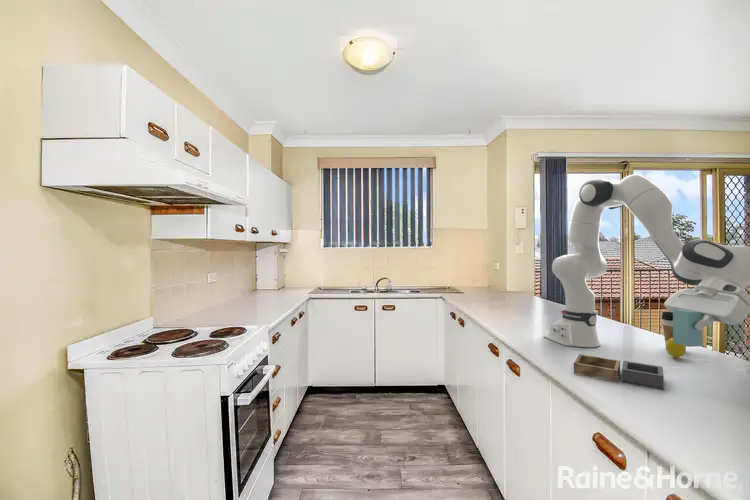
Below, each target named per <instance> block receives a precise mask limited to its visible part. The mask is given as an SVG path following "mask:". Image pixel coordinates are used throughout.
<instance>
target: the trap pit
mask: <svg viewBox="0 0 750 500" xmlns="http://www.w3.org/2000/svg"><path fill="white" fill-rule="evenodd" d="M622 362H623V363H622V366H621V382H622V383H625V384H631V385H635V386H641V387H647V388H650V389H651V388H652V389H657V390H662V391H664V390H665V389H664V388H665V387H664V386H665V385H664V384H665V383H664V382H665V380H664V379H665V378H664V377H665V375H664V368H663V366H661V365H660V366H659V365H655V364H654V365H653V364H646V363H642V362H641V363H640V362H634V361H628V360H623V361H622Z"/></svg>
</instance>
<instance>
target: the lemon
mask: <svg viewBox="0 0 750 500" xmlns="http://www.w3.org/2000/svg"><path fill="white" fill-rule="evenodd" d="M665 350H666V352H667V353H668V354H669V355H670V356H672V357H673V358H674V359H678V358H680V357H682V356H684V355H685V354H686V350H687V348H685V346H684V345H680V344H677V343H674V342H673V338H670V339H669V340H668V341H667V343H666V345H665Z"/></svg>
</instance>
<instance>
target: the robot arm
mask: <svg viewBox="0 0 750 500" xmlns="http://www.w3.org/2000/svg"><path fill="white" fill-rule="evenodd" d="M623 207H626V208H627V210H628V211H630V213H632V215H633V216H634V217H635V218H636V220H637V221H638V222H639V223H640V224H641V225H642V227H643V229H645V230H646V232H647V234H649V236H650V238H651V239H652V240H653V242H654V243H655V245H656V246H657V247H658V248H659V250H660V251H661V252H662V254H663V255H664V256H665V258H666V259H667V261H668V262H669V265H670V268H671V272H672V274H673V276H674V278H675V279H676V280H678V281H679V282H681V283H683V284H685V285H691V286H695V288H685V289H679V290H677V291H676V292H674V293H673V294H672V295H670V296H669V298H667V299H665V302H664V303H663V306H664V307H665V309H667V311H668V312H672V313H673V309H688V310H693V311H698V312H700V313H701V314H702V320H700V321H698V322H696V321H695V322H694V323H693V324H692V327H693V328H694V329H696V330H701V329H702V330H703V329H704V328H705V327H707V326H709V325H713V323H714V322H716V323H717V322H718V323H721V324H726V325H731V326H735V325H736V326H737V325H739V324H741V323H742V322H743V321H744V320H745V319H746V318H747V317H748V316H749V315H750V294H748V292H747V291H745V289H746V287H748V286H749V285H750V246H747V245H728V244H727V245H726V244H720V243H716V242H715V241H711V240H709V239H701V238H700V239H692V240H689V241H687V242H685V243H683V242H682V240H681V239H680V238H679V237H678V235H677V234H676V232H675V230H674V226H673V225H674V224H673V211H674V210H673V209H674V208H673V204H672V201H671V200H670V198H669V197H668V195H667V194H666V193H665V192H664V191H663V190H662V189H661V188H660V187H658V185H656V184H655V183H654V182H653V181H651V180H650V179H648V178H646V177H645V176H643V175H641V174H637V173H634V174H633V173H632V174H630V175H629V174H628V175H627V176H625V177H623V178H622V179H621V180H619V179H611V178H610V179H609V178H608V179H598V178H597V179H591V180H588V181H586V182H585V183H583V184H582V186H581V187H580V189H579V193H578V199H577V200H575V203H574V206H573V210H572V211H571V218H570V223H569V232H568V241H569V242H570V243H571V244H572V245H573V247H574V254H572V253H571V254H564V255H560V256H558V257H556V258H554V259H553V262H552V264H551V270H552V273H553V275H554V276H555V277H556V278H557V279H559V281H560V282H561V285H562V288H563V290H564V298H565V301H564V302H565V309H564V310H560V311H559V312H560V314H562V316H561V318H559V319H558V320H556V321H555V322H552V323H551V324H550V327H549V331H548V333H545V334H543V338H545V339H547V340H549V341H553V342H555V343H557V344H560V345H563V346H567V347H580V348H598V347H600V346H601V343H600V340H599V336H598V333H597V332H598V331H597V326H596V324H597V311H596V297H595V295H596V294H595V293H594V292H593V291H592V290H591V289H590V287H589V286H588V283H587V279H596V278H598V277H599V278H600V277H601V276H604V275H605V274H606V272H607V270H608V262H607V260H606V259H605V258H604V256H603V255H602V253H601V249H600V243H599V242H600V232H601V224H602V215H603V213H604V211H606V210H607V209H609V210H614V209H619V208H623ZM672 322H673V321H672Z"/></svg>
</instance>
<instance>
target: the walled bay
mask: <svg viewBox="0 0 750 500" xmlns="http://www.w3.org/2000/svg"><path fill="white" fill-rule="evenodd" d="M620 373H621V360H619V359H613V358H606V357H601V356H593V355H587V354H582V353H579V354H578V356H577V357H576V359H575V361H574V362H573V375H577V376H578V375H579V376H583V377H588V378H594V379H598V380H599V379H600V380H604V381H609V382H615V383H618V382H619V377H620Z"/></svg>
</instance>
